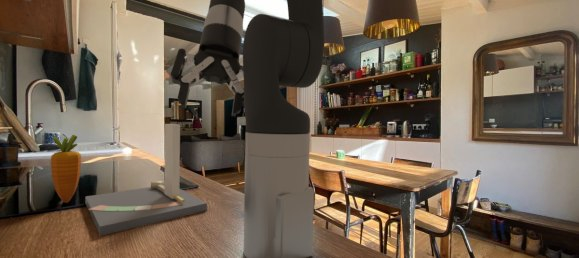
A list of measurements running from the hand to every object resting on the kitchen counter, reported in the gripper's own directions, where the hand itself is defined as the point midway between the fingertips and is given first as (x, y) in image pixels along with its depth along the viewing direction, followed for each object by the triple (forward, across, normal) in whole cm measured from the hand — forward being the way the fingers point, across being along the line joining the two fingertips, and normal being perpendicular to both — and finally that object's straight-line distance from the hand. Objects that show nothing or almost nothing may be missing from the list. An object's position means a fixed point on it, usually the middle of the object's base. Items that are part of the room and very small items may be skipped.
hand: (209, 110), depth 44 cm
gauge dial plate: (+16, -10, +21) cm, 28 cm away
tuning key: (+12, -7, +23) cm, 27 cm away
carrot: (+16, -27, +28) cm, 42 cm away
